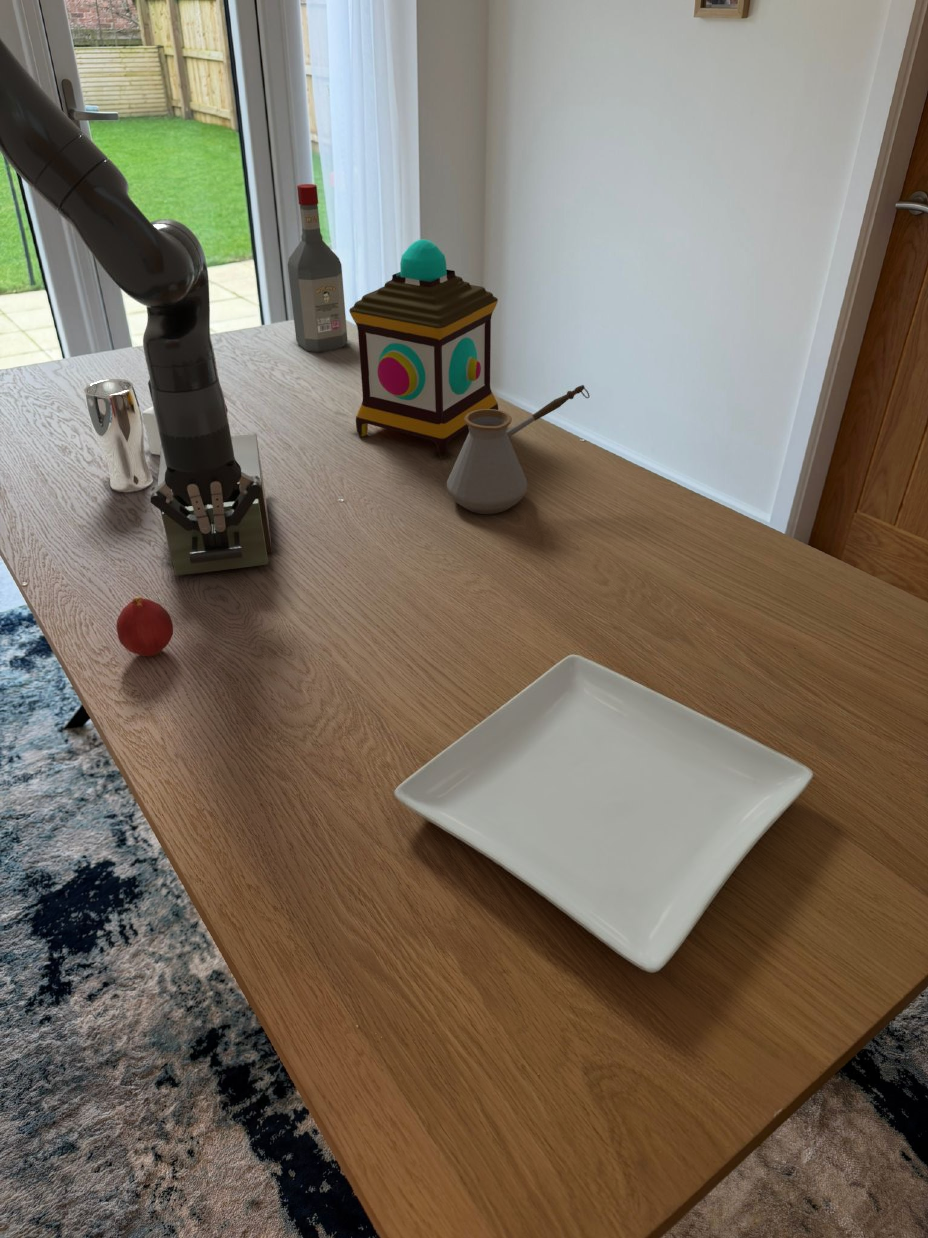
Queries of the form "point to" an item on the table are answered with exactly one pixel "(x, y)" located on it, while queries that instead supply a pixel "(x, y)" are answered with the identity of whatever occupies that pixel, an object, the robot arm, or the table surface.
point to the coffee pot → (493, 460)
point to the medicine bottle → (152, 428)
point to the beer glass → (119, 432)
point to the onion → (144, 627)
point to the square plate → (609, 802)
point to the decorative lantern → (424, 349)
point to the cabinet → (250, 465)
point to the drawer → (241, 552)
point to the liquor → (316, 283)
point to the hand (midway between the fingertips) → (218, 555)
